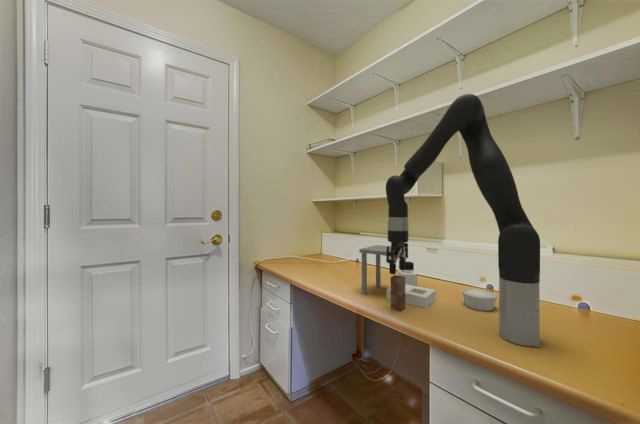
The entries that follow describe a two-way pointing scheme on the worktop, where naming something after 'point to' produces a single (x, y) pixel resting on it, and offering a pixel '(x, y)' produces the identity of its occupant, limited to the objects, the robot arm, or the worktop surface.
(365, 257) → the grey miniature table
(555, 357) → the worktop surface
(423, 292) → the socket block
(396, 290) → the peg
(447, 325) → the worktop surface
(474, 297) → the ramekin
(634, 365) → the worktop surface
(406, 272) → the medicine bottle
